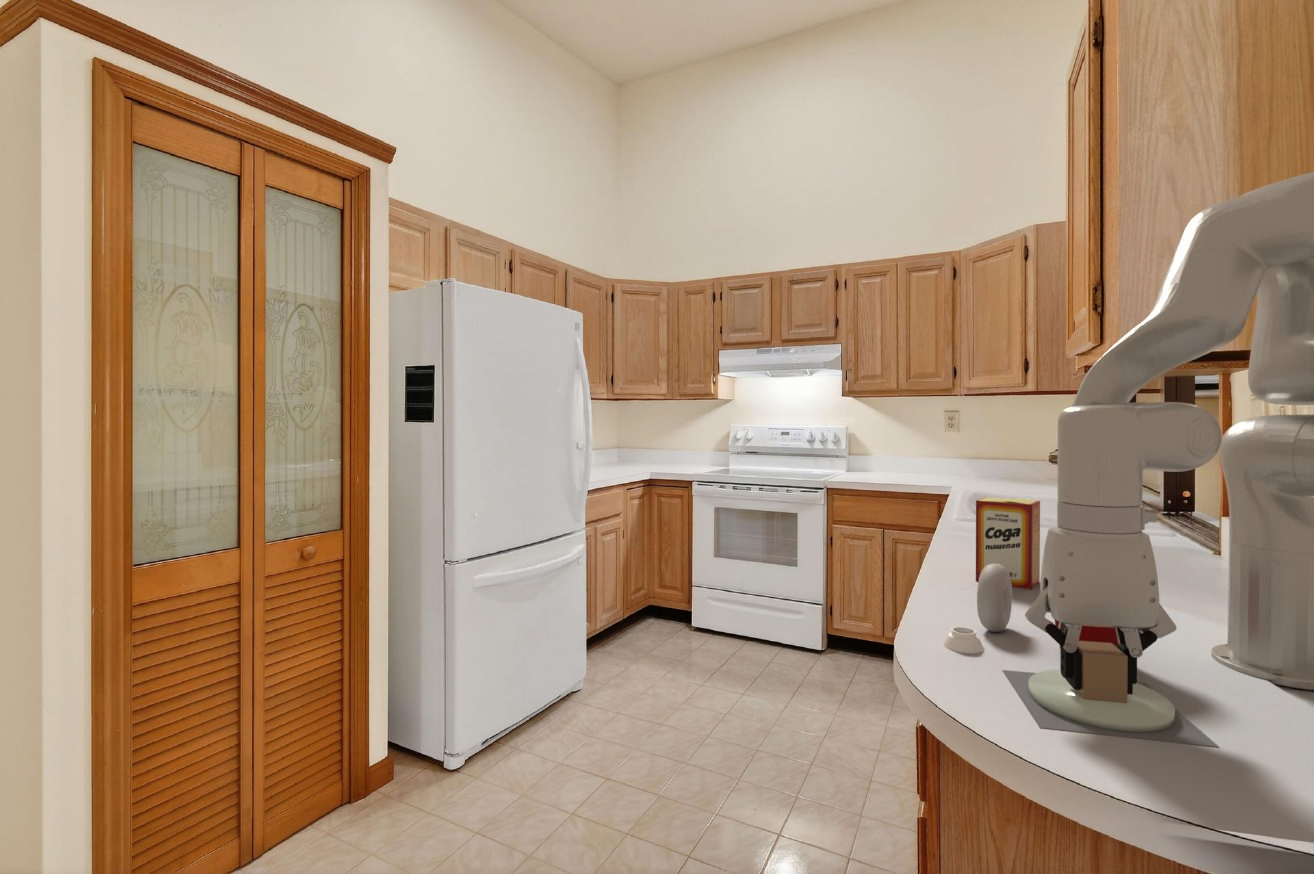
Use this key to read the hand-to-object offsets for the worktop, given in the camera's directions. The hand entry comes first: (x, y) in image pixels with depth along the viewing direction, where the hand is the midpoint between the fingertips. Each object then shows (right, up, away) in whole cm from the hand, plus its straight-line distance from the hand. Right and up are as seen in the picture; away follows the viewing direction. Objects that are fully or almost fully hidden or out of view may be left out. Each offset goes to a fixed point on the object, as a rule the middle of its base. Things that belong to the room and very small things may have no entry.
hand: (1097, 685), depth 69 cm
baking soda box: (+19, -1, +53) cm, 56 cm away
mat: (0, -3, 0) cm, 3 cm away
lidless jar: (-6, -2, +18) cm, 19 cm away
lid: (0, -2, 0) cm, 2 cm away
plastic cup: (+8, -2, +13) cm, 16 cm away
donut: (+2, -2, +25) cm, 26 cm away
